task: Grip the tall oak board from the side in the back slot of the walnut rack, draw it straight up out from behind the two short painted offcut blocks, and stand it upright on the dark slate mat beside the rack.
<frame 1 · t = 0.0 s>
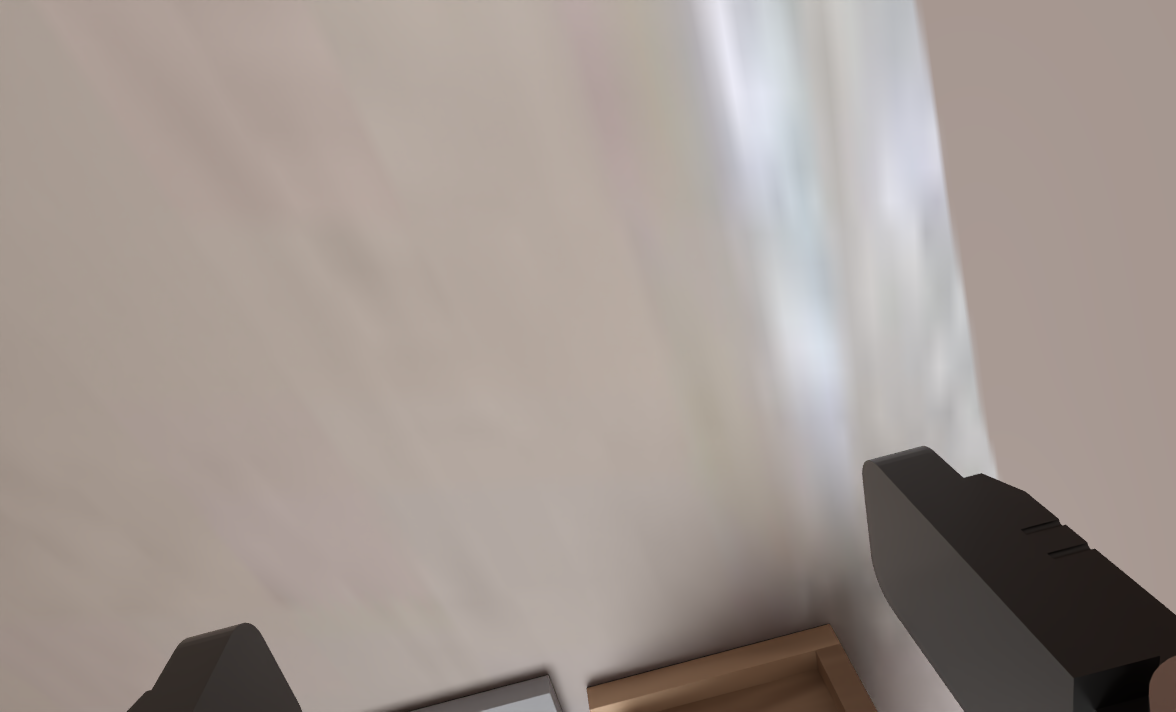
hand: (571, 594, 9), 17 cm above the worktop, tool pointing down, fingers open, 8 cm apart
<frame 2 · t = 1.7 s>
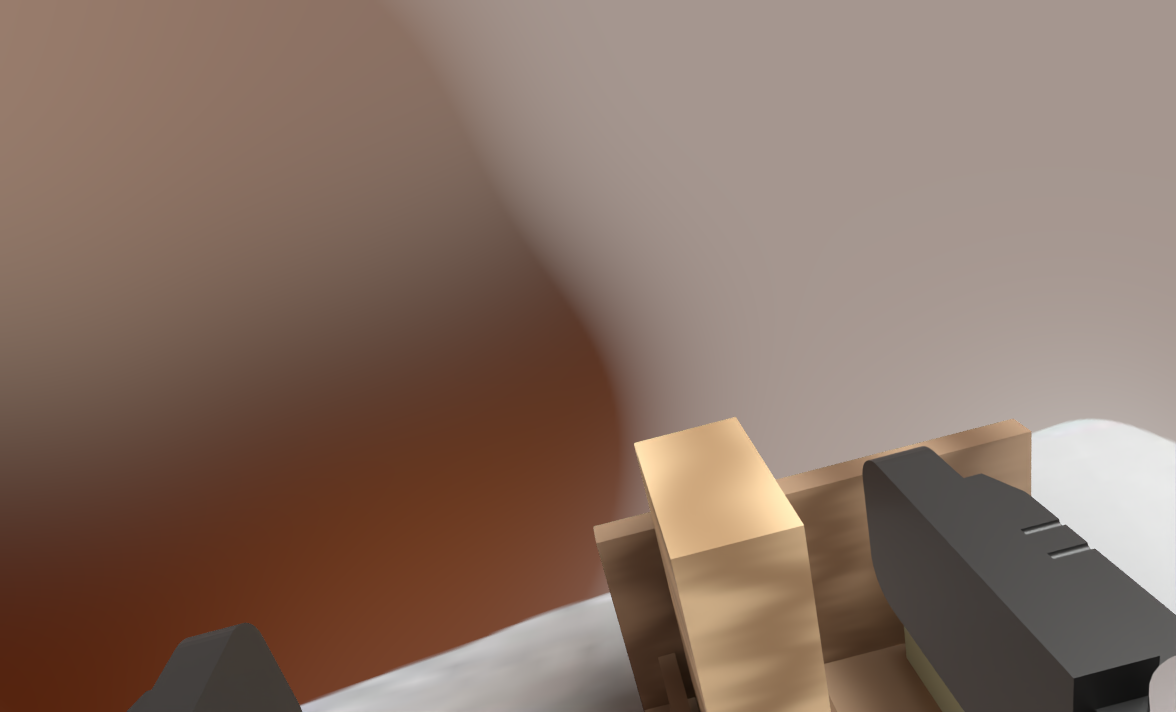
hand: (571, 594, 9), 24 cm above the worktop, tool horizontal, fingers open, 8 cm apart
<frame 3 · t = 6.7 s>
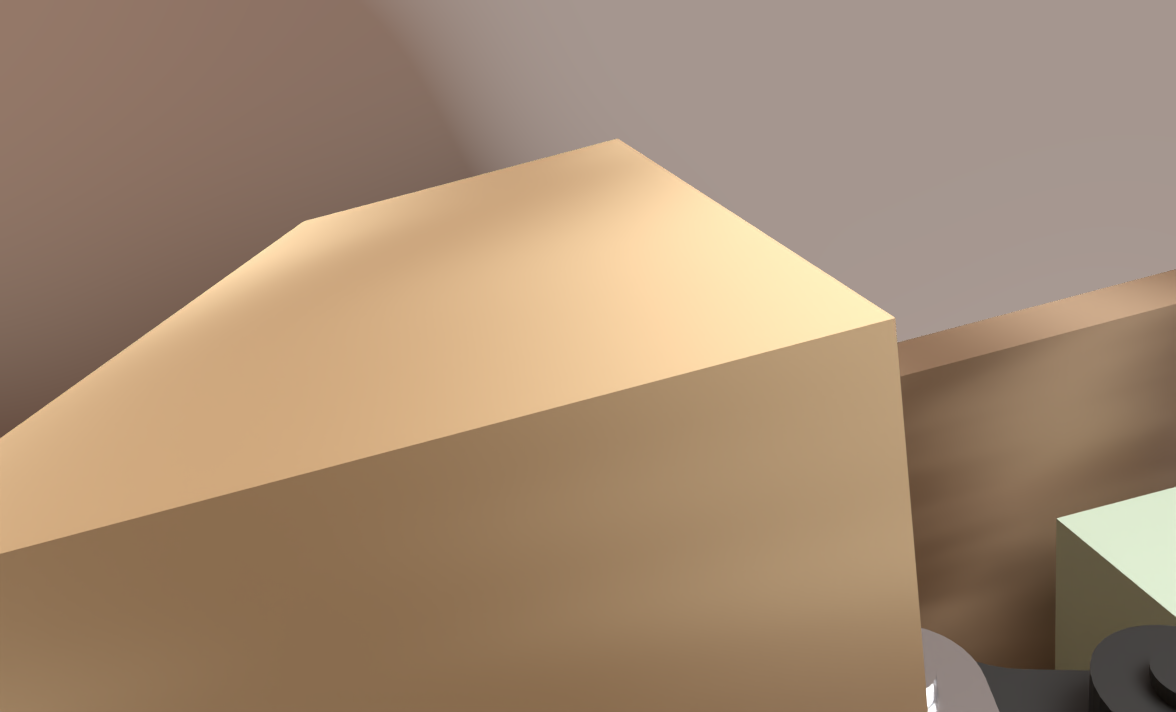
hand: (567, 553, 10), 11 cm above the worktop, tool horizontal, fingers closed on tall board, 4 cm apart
when the fingers open (12 cm above the worktop, at t = 15.3 s): tall board drops 1 cm, resting on slate mat.
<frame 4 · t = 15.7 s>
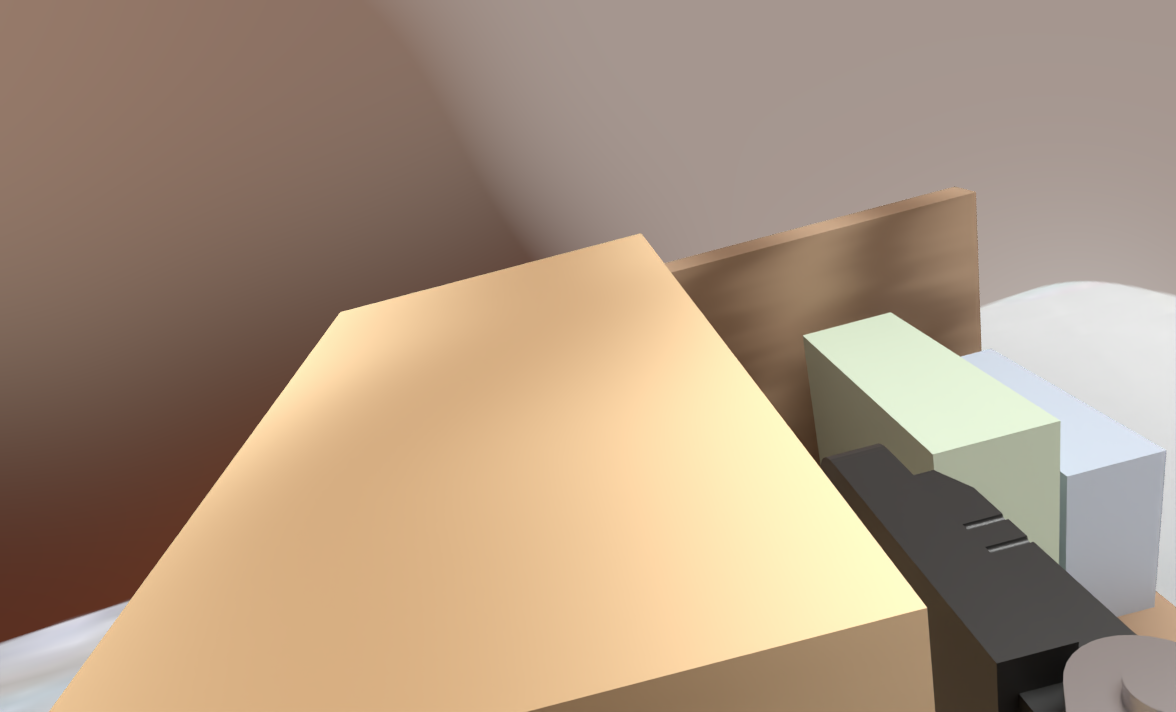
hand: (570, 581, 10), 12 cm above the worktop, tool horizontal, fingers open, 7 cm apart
rack: (790, 632, 23), on the worktop
offcut b: (1024, 541, 23), point 1 cm above the worktop, touching rack
offcut a: (923, 567, 23), point 1 cm above the worktop, touching rack
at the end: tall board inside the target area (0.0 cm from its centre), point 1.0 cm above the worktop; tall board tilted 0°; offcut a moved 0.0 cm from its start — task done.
